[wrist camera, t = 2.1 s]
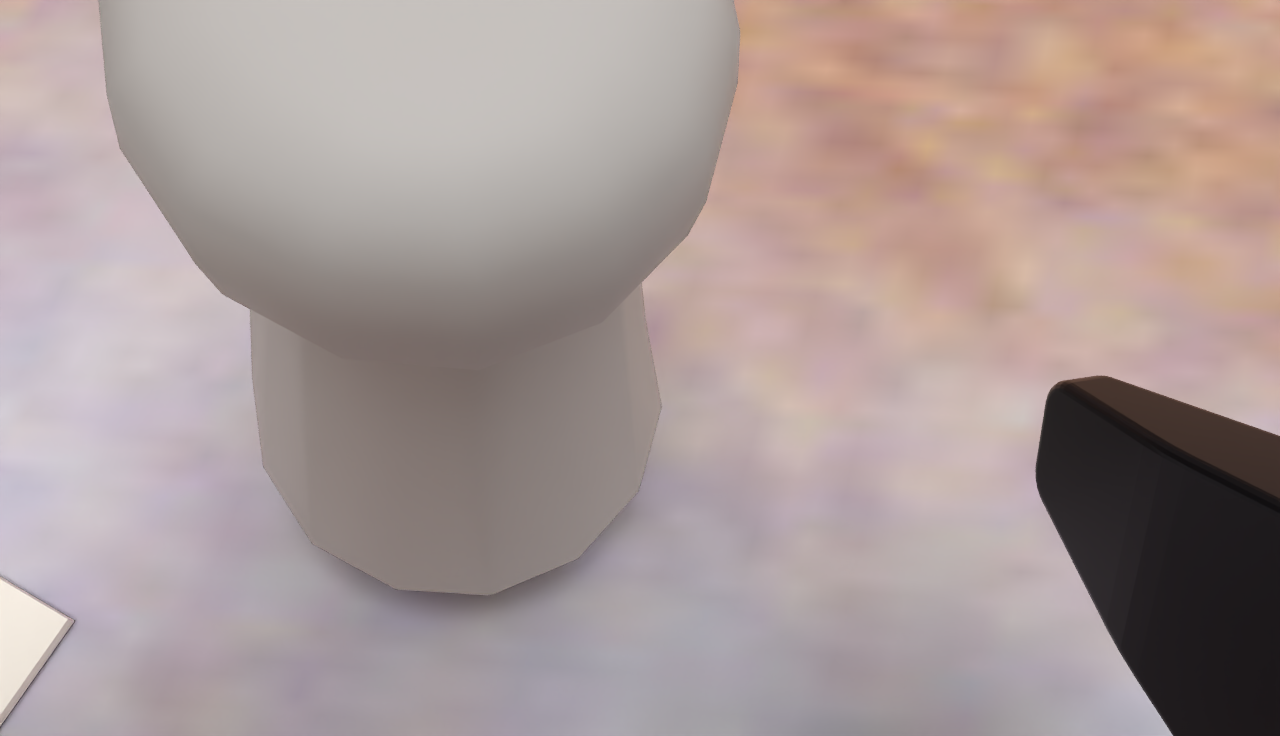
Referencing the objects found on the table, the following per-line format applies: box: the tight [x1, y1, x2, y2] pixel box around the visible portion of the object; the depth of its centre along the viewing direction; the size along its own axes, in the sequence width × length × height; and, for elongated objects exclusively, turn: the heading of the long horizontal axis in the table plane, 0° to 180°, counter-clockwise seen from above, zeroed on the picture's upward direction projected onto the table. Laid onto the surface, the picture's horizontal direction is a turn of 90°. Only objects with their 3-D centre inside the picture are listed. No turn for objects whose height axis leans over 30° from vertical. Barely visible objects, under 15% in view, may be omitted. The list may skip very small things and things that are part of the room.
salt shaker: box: [98, 0, 740, 596], centre depth 13 cm, size 6×6×13 cm
